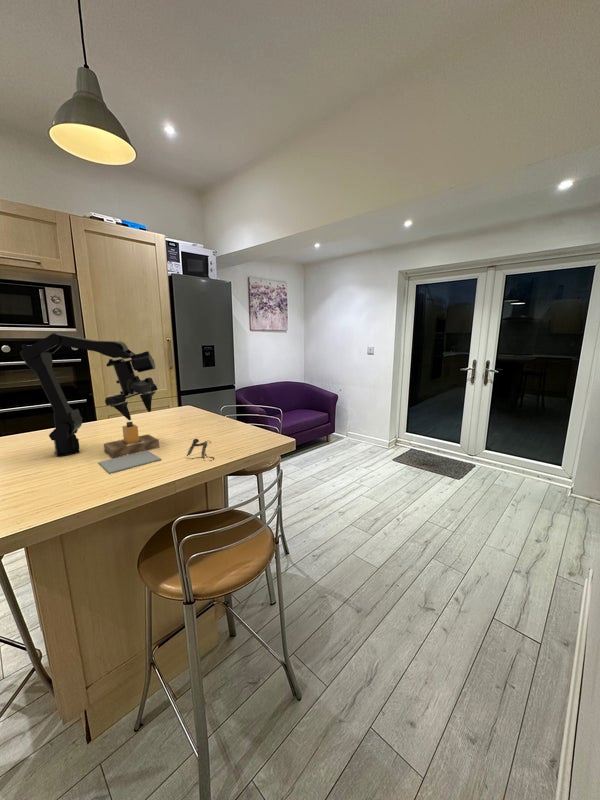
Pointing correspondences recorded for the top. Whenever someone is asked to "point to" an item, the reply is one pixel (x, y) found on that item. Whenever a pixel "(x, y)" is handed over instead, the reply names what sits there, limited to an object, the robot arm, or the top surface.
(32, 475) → the top surface
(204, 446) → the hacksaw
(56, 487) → the top surface
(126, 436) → the plug
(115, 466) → the mat
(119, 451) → the socket block
